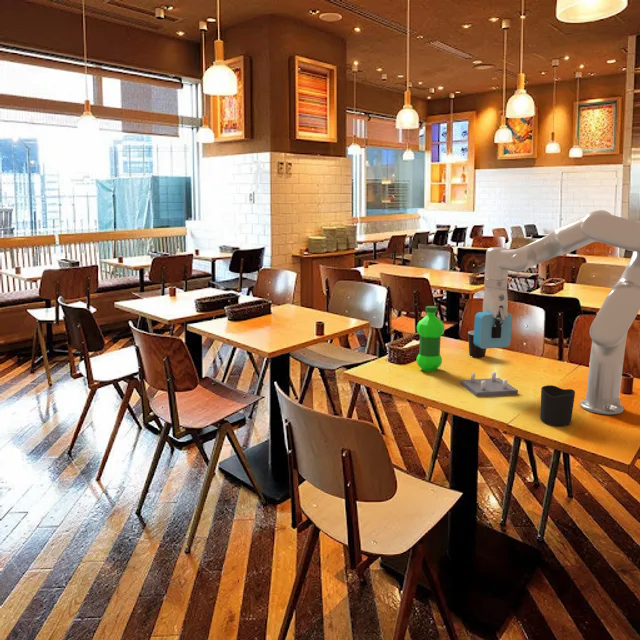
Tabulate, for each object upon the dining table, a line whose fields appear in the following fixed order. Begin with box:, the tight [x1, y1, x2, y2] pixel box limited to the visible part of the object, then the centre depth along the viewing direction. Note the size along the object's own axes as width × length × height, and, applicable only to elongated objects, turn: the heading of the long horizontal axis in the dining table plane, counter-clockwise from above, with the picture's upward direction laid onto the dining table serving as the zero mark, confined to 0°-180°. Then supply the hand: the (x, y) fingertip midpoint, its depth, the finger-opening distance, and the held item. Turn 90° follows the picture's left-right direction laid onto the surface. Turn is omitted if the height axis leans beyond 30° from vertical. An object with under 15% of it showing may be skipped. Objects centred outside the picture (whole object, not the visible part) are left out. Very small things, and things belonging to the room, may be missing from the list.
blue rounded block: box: [473, 311, 513, 350], centre depth 205 cm, size 12×4×12 cm, turn 106°
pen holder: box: [539, 384, 576, 428], centre depth 179 cm, size 9×9×10 cm
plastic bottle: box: [415, 305, 445, 373], centre depth 230 cm, size 10×10×25 cm
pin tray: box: [459, 371, 519, 398], centre depth 209 cm, size 14×15×4 cm
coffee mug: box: [467, 330, 487, 359], centre depth 250 cm, size 12×9×10 cm
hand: (492, 335), depth 206 cm, fingers closed on blue rounded block, 4 cm apart
